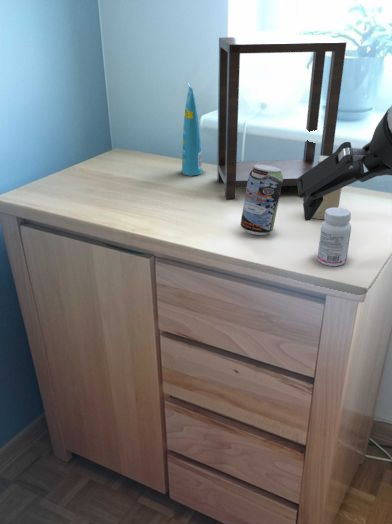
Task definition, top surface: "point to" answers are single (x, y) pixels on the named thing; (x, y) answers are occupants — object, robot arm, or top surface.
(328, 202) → the box
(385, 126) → the robot arm
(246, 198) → the beverage can
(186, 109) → the tube
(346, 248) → the pill bottle
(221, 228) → the top surface
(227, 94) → the rack
